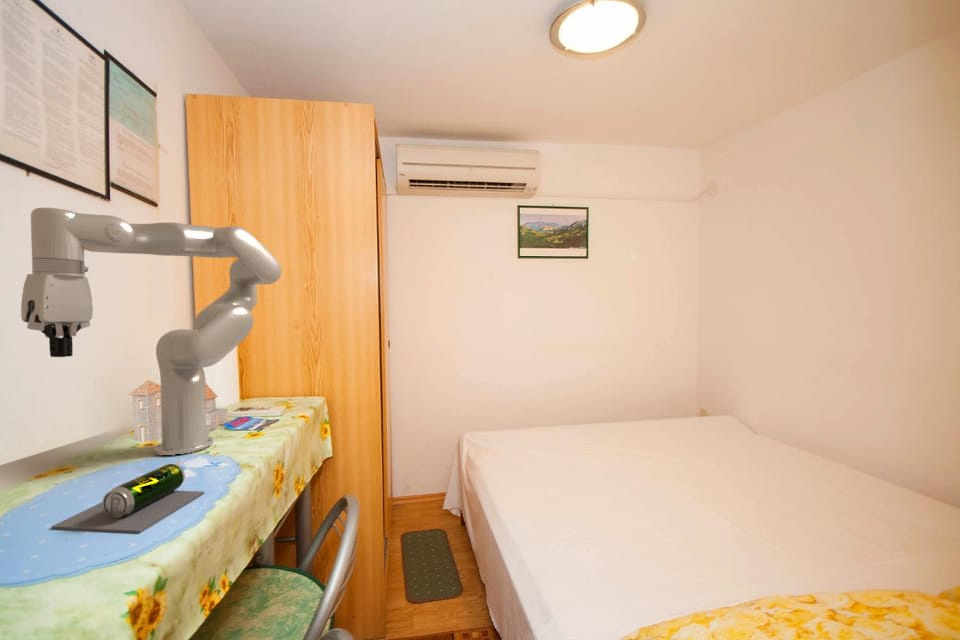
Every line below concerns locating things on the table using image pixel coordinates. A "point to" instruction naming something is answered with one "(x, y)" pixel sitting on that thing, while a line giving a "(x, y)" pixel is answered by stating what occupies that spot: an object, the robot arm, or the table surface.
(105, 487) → the table surface
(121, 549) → the table surface
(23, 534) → the table surface
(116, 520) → the mat
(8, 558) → the table surface
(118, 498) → the green soda can
